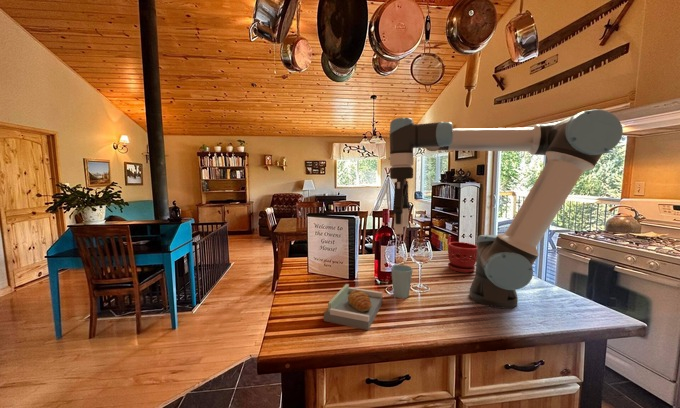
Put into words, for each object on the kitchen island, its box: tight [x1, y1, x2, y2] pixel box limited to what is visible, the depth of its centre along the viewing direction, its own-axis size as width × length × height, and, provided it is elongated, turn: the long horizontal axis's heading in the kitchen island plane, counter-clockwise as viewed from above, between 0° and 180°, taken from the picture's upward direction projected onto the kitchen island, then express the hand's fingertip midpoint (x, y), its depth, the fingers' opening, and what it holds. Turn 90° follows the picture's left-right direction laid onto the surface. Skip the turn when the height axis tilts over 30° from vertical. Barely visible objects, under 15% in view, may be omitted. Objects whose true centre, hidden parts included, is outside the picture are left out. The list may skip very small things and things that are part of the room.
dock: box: [323, 283, 384, 331], centre depth 91 cm, size 14×18×6 cm
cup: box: [390, 264, 413, 299], centre depth 103 cm, size 8×8×10 cm
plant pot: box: [447, 241, 477, 273], centre depth 131 cm, size 13×13×12 cm
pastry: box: [348, 290, 372, 312], centre depth 89 cm, size 9×7×4 cm
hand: (401, 230), depth 95 cm, fingers open, 13 cm apart
